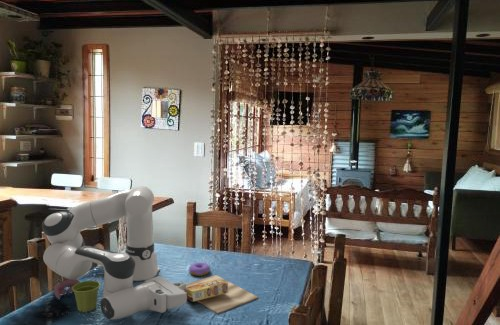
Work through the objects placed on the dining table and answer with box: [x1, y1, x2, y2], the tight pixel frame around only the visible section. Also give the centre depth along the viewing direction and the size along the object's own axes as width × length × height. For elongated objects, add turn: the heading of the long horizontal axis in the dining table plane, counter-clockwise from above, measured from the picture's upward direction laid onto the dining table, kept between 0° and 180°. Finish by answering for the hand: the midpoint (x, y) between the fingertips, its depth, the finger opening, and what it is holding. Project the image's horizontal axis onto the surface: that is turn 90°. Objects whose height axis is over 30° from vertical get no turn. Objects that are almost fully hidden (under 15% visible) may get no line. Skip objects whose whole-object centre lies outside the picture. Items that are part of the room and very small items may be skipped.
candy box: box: [183, 279, 228, 302], centre depth 150 cm, size 9×4×15 cm
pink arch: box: [53, 278, 80, 299], centre depth 150 cm, size 10×5×7 cm, turn 135°
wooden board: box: [185, 274, 259, 315], centre depth 154 cm, size 28×20×1 cm
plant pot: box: [72, 280, 101, 313], centre depth 139 cm, size 9×9×9 cm
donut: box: [188, 262, 211, 277], centre depth 175 cm, size 10×9×5 cm
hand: (184, 285), depth 144 cm, fingers closed
